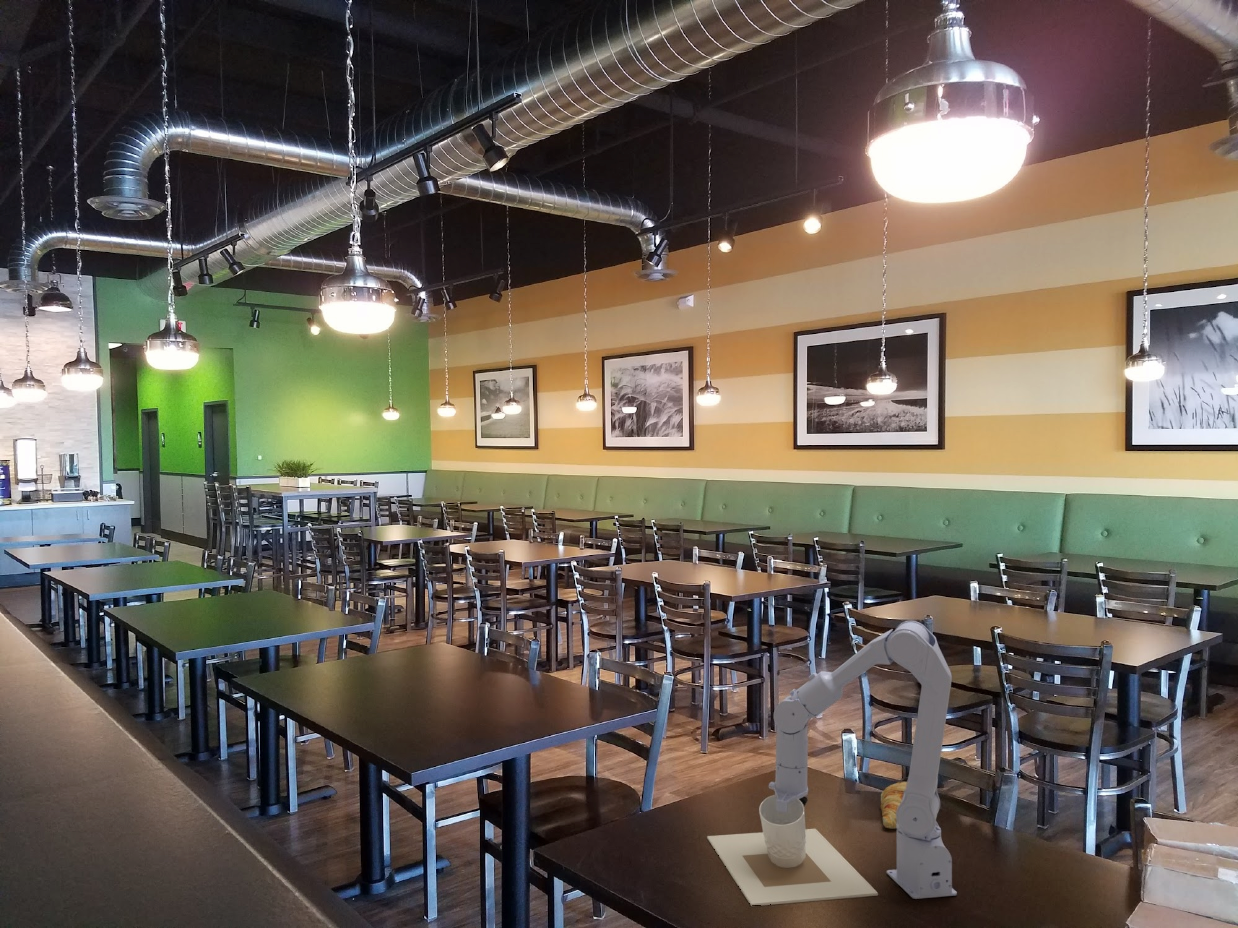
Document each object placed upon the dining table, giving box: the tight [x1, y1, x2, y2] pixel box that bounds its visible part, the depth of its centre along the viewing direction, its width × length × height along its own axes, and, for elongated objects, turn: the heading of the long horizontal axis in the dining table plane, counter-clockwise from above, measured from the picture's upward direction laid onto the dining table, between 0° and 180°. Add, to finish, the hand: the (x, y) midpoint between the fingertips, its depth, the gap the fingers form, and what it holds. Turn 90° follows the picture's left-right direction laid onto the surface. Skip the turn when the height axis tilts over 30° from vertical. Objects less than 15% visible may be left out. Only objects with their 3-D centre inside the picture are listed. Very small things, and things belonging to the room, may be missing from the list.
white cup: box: [758, 794, 807, 868], centre depth 151 cm, size 8×8×10 cm
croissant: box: [880, 781, 907, 830], centre depth 174 cm, size 21×10×8 cm, turn 143°
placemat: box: [706, 828, 879, 907], centre depth 152 cm, size 26×22×1 cm
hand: (789, 836), depth 155 cm, fingers closed, pressing on white cup
